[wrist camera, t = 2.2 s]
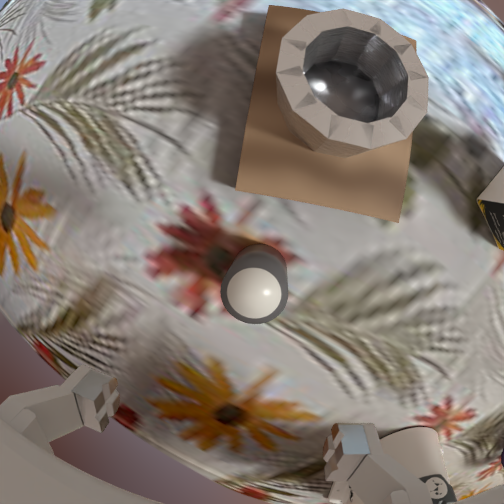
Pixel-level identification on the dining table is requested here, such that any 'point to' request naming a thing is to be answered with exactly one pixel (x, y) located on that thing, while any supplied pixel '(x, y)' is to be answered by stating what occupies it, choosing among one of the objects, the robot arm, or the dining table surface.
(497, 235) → the medicine bottle
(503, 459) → the decorative bottle
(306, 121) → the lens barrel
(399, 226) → the dining table surface
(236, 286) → the gray white-topped cylinder
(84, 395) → the robot arm
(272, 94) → the mounting block
